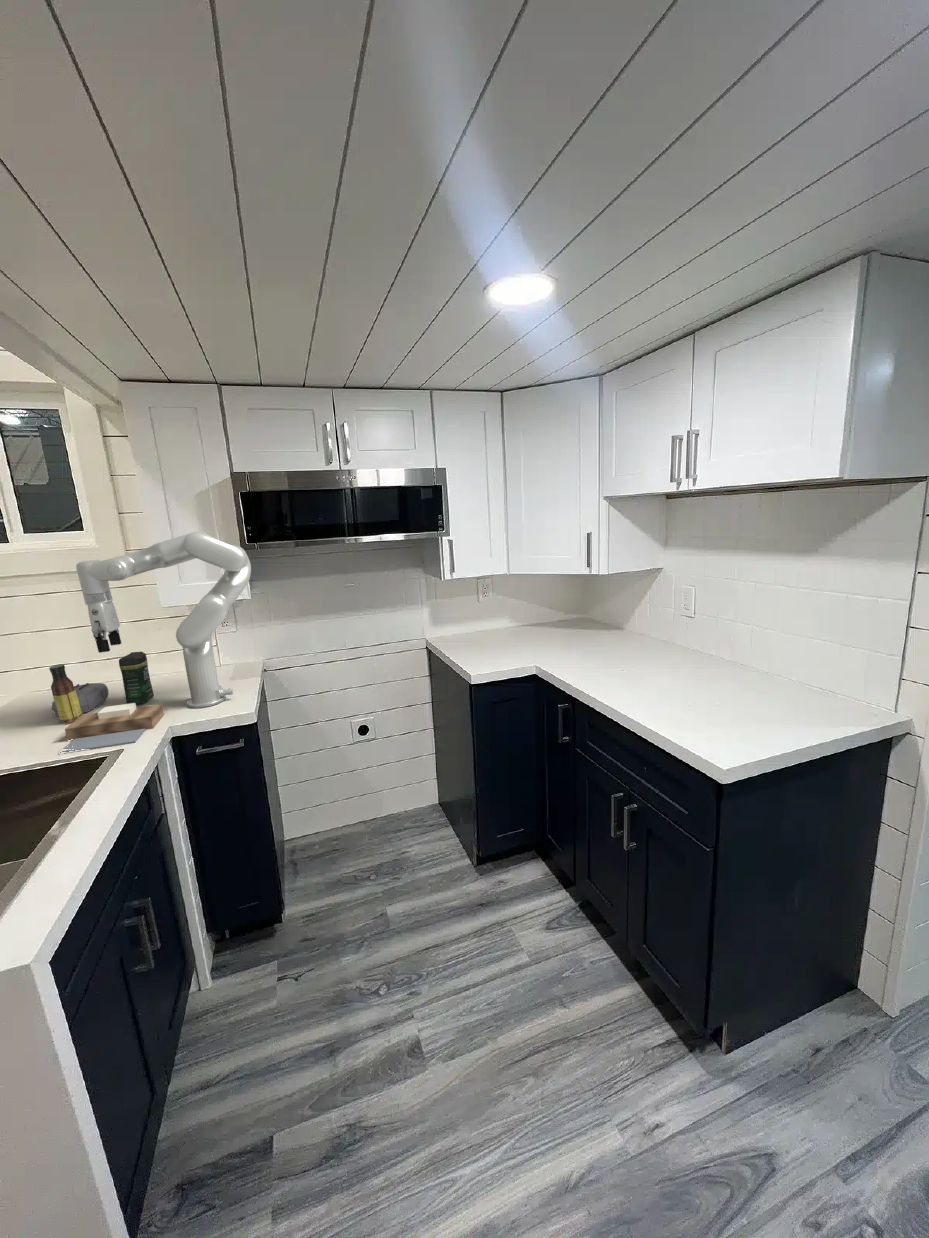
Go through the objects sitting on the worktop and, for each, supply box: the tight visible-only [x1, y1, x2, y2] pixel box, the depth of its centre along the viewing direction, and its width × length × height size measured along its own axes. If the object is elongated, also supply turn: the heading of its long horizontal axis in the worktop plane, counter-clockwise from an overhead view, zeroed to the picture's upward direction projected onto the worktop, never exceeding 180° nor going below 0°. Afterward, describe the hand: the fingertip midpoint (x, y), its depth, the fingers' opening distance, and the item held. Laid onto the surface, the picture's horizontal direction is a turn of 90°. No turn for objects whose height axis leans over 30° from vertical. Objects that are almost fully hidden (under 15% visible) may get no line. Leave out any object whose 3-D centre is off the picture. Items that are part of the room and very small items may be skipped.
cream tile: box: [97, 703, 137, 719], centre depth 171 cm, size 9×6×2 cm, turn 105°
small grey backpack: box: [51, 682, 109, 717], centre depth 191 cm, size 15×8×20 cm
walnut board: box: [64, 703, 165, 740], centre depth 170 cm, size 24×12×4 cm, turn 105°
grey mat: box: [59, 728, 147, 753], centre depth 159 cm, size 20×10×1 cm, turn 105°
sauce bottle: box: [48, 663, 83, 725], centre depth 177 cm, size 6×6×20 cm
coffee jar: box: [118, 651, 155, 706], centre depth 193 cm, size 10×8×19 cm
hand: (110, 648), depth 175 cm, fingers open, 9 cm apart
